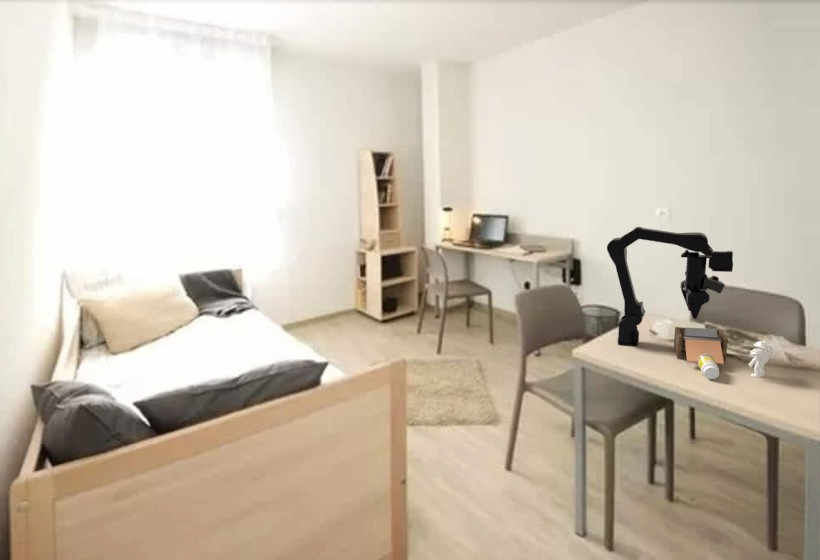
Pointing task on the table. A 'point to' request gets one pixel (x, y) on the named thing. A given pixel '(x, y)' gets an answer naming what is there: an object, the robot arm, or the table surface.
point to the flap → (702, 344)
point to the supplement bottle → (708, 366)
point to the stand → (680, 345)
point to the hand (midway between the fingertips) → (692, 314)
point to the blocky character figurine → (760, 358)
